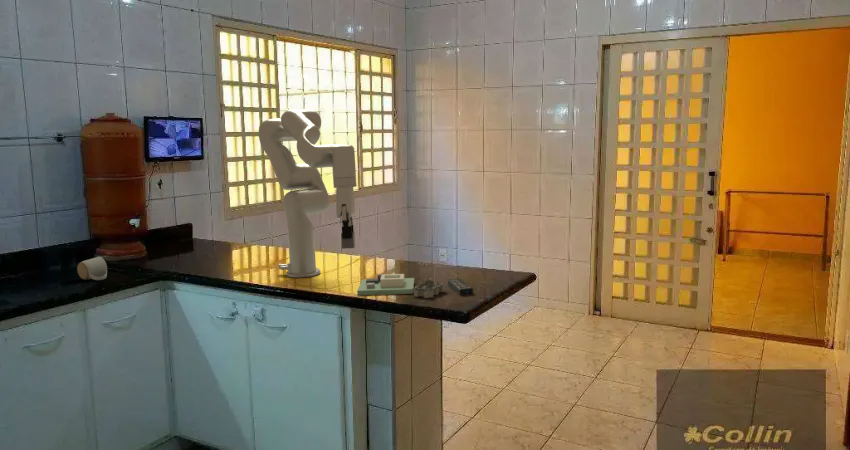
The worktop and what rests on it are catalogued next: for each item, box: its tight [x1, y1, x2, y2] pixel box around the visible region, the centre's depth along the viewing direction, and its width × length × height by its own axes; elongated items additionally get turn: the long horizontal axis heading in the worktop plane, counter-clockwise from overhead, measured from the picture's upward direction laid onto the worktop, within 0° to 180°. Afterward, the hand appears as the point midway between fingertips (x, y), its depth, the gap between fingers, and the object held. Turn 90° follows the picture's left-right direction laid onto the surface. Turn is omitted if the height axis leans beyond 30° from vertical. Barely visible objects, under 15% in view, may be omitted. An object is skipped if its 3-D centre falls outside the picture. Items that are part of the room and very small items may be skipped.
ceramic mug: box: [76, 256, 108, 281], centre depth 238 cm, size 11×8×8 cm
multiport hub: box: [447, 278, 474, 296], centre depth 204 cm, size 4×14×2 cm, turn 14°
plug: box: [340, 220, 356, 249], centre depth 208 cm, size 4×3×9 cm
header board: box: [356, 273, 415, 296], centre depth 208 cm, size 18×15×4 cm
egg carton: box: [412, 277, 446, 299], centre depth 201 cm, size 11×8×4 cm
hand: (348, 236), depth 208 cm, fingers closed on plug, 3 cm apart
